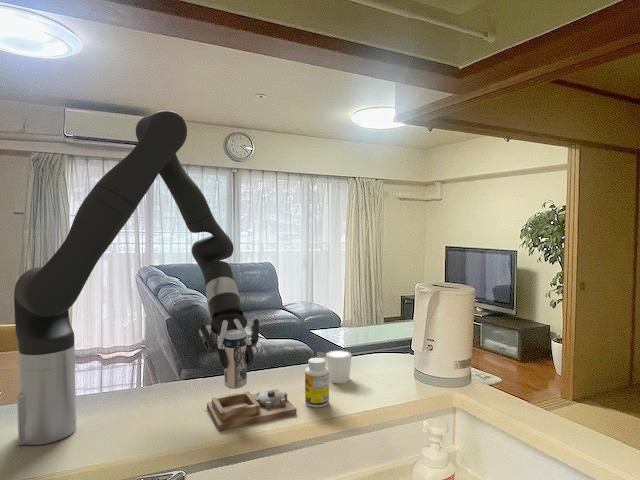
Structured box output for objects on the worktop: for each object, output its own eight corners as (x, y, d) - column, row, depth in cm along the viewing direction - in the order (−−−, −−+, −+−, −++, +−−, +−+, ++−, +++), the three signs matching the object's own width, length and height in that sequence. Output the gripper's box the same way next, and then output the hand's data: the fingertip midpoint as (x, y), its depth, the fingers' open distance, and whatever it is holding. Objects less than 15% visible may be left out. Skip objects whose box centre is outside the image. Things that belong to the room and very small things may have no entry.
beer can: (241, 390, 89) (240, 335, 88) (220, 388, 90) (220, 334, 89) (249, 382, 94) (249, 329, 93) (230, 380, 95) (229, 328, 94)
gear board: (219, 431, 84) (219, 414, 84) (207, 407, 95) (206, 393, 95) (296, 414, 92) (296, 398, 92) (277, 394, 102) (277, 380, 102)
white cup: (352, 384, 109) (352, 357, 109) (326, 384, 109) (326, 357, 109) (350, 374, 116) (350, 350, 116) (326, 374, 116) (326, 349, 116)
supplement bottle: (305, 398, 100) (304, 356, 100) (328, 398, 100) (328, 356, 100) (305, 408, 94) (305, 364, 94) (329, 408, 95) (329, 363, 94)
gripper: (194, 293, 94) (206, 362, 84) (255, 288, 101) (273, 352, 90) (191, 312, 99) (201, 379, 89) (249, 306, 106) (265, 368, 95)
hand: (237, 365), depth 90 cm, fingers closed on beer can, 4 cm apart
